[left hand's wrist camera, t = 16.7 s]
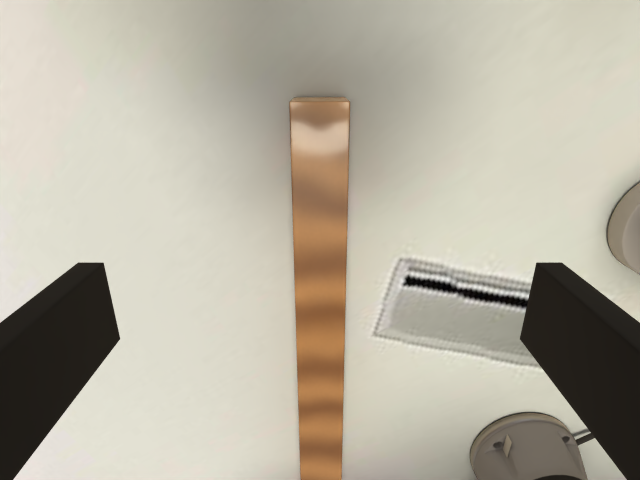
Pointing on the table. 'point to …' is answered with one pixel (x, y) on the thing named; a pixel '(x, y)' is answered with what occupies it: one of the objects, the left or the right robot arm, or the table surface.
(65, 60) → the table surface
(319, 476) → the bar
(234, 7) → the table surface
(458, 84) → the table surface
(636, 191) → the bust sculpture
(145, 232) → the table surface
